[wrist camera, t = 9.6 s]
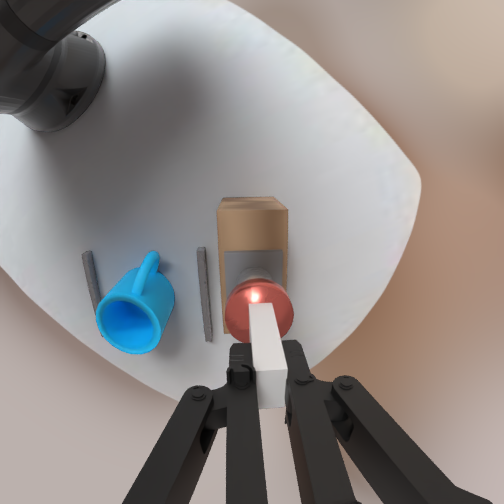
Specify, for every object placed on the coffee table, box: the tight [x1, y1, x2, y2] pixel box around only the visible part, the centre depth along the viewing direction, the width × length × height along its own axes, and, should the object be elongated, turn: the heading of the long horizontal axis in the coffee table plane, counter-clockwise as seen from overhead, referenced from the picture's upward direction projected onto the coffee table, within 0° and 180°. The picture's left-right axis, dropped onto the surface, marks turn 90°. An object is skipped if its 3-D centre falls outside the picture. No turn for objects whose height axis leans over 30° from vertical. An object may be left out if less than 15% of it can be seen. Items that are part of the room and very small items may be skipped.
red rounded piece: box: [225, 267, 294, 343], centre depth 21 cm, size 5×5×6 cm
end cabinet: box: [217, 197, 288, 334], centre depth 30 cm, size 6×12×11 cm, turn 1°
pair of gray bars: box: [82, 247, 212, 341], centre depth 35 cm, size 13×17×2 cm
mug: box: [96, 251, 175, 354], centre depth 32 cm, size 12×8×8 cm
